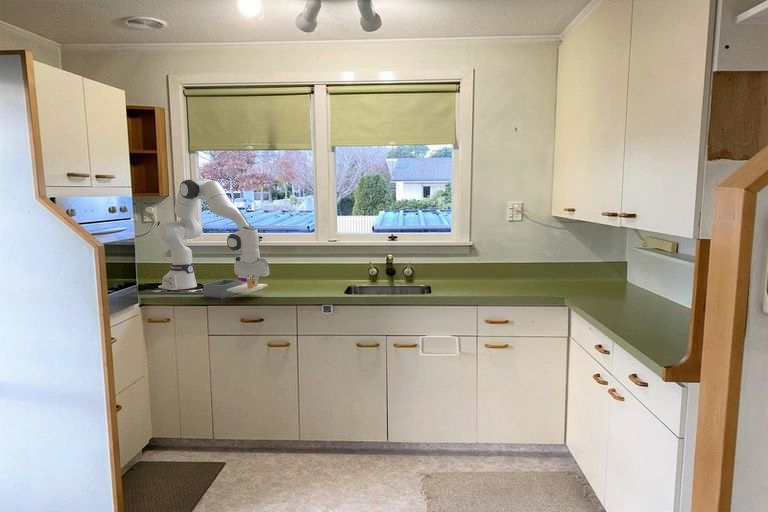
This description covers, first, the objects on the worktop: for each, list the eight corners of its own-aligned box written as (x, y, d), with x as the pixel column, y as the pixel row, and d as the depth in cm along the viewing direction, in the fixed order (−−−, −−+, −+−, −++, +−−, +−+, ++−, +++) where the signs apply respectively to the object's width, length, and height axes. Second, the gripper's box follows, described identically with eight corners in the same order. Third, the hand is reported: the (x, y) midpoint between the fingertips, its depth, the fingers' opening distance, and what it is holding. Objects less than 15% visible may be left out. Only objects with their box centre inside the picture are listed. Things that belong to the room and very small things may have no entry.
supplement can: (248, 287, 290) (247, 261, 288) (235, 286, 292) (234, 261, 290) (255, 284, 298) (253, 259, 296) (242, 284, 300) (241, 259, 298)
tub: (203, 297, 264) (203, 284, 263) (224, 291, 279) (224, 279, 278) (221, 299, 259) (220, 285, 258) (241, 293, 274) (241, 280, 273)
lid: (226, 292, 257) (225, 280, 256) (248, 286, 272) (247, 275, 271) (247, 294, 251) (246, 281, 251) (267, 287, 267) (266, 275, 266)
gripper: (271, 257, 257) (272, 283, 259) (239, 256, 265) (241, 281, 267) (263, 259, 251) (265, 286, 253) (231, 257, 259) (233, 283, 261)
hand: (252, 283), depth 260 cm, fingers closed on lid
